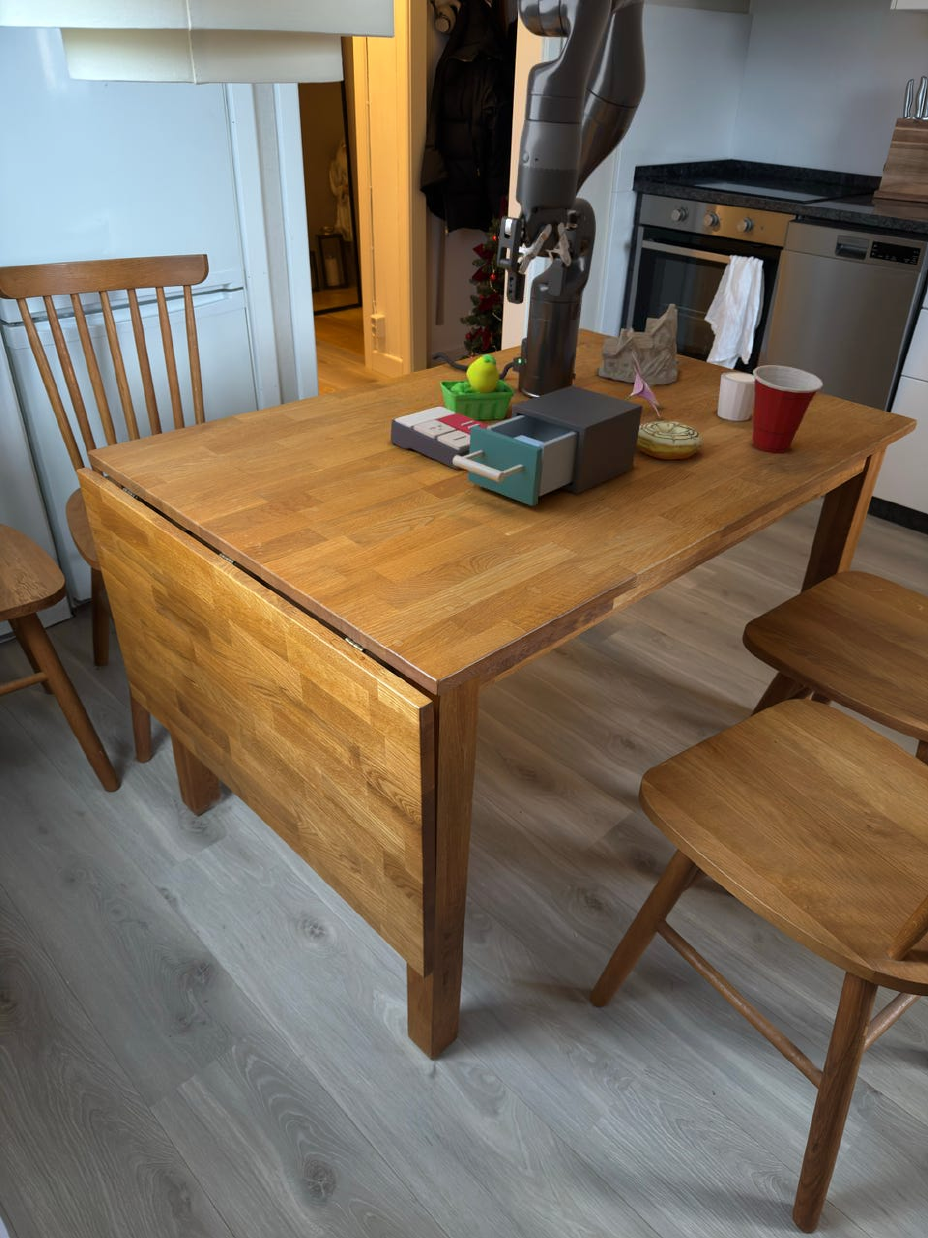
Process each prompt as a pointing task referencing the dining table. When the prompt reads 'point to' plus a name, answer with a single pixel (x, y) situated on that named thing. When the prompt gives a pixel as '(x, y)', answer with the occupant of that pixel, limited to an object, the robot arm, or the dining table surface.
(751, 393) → the white faceted cylinder
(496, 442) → the drawer
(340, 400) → the dining table surface
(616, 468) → the cabinet
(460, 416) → the calculator
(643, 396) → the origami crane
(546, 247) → the robot arm
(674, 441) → the decorated donut
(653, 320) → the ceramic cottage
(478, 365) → the fruit basket
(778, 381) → the plastic cup
